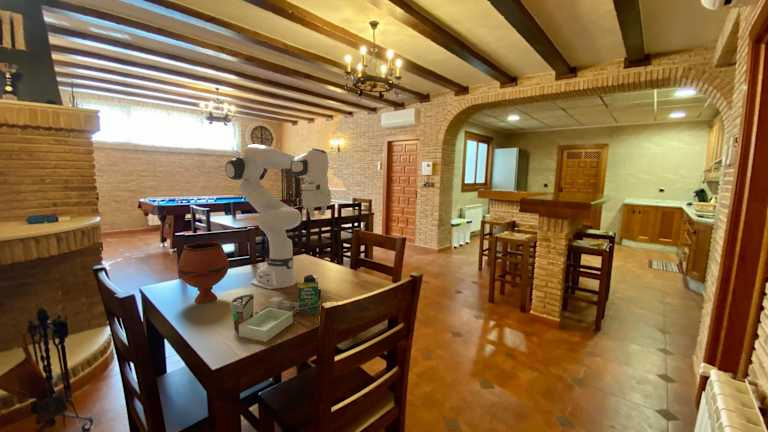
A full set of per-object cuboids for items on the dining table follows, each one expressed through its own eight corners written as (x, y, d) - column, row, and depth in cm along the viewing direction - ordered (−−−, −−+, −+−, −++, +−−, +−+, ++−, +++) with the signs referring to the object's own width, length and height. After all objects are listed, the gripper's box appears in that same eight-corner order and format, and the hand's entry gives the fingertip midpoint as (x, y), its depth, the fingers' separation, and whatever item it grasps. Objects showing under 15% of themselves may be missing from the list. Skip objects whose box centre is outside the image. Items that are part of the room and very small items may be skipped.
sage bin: (238, 336, 108) (238, 325, 108) (268, 317, 123) (268, 307, 122) (265, 341, 105) (265, 330, 104) (292, 322, 119) (292, 312, 119)
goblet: (169, 304, 133) (166, 246, 130) (209, 289, 151) (207, 238, 148) (201, 312, 126) (198, 251, 123) (239, 296, 144) (237, 242, 141)
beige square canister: (304, 306, 134) (304, 279, 133) (300, 300, 141) (300, 274, 139) (320, 303, 138) (321, 277, 136) (316, 298, 144) (316, 272, 143)
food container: (238, 318, 121) (237, 293, 120) (254, 318, 122) (254, 293, 121) (224, 333, 109) (223, 306, 108) (243, 333, 110) (242, 306, 109)
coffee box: (297, 315, 125) (297, 283, 124) (298, 312, 128) (298, 281, 127) (317, 315, 126) (318, 283, 125) (318, 312, 129) (319, 281, 127)
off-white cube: (269, 311, 128) (268, 300, 128) (275, 308, 132) (275, 296, 131) (277, 313, 127) (277, 301, 126) (283, 309, 131) (283, 298, 130)
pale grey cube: (280, 314, 126) (280, 306, 126) (283, 310, 130) (283, 302, 129) (289, 314, 126) (289, 306, 126) (291, 310, 130) (291, 302, 129)
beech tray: (255, 315, 125) (255, 311, 124) (276, 302, 137) (276, 299, 137) (284, 320, 120) (284, 317, 120) (303, 307, 133) (303, 304, 133)
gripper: (322, 185, 150) (322, 213, 152) (299, 185, 131) (299, 218, 132) (334, 185, 148) (334, 214, 150) (312, 186, 129) (312, 219, 131)
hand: (317, 216), depth 141 cm, fingers open, 8 cm apart
